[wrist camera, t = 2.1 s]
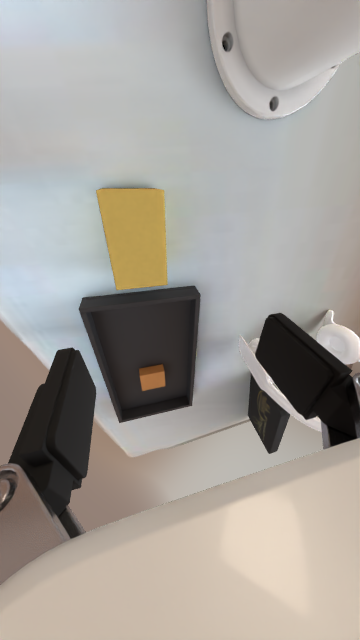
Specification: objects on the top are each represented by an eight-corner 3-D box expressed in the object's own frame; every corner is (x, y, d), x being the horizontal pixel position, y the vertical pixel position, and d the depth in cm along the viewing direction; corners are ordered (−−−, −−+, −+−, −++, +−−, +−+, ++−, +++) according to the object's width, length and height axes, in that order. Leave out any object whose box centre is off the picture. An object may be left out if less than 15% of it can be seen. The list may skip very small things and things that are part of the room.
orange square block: (138, 368, 32) (139, 376, 30) (162, 363, 33) (164, 371, 31) (141, 383, 34) (142, 391, 33) (163, 378, 35) (165, 386, 34)
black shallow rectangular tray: (82, 297, 23) (78, 309, 21) (194, 285, 26) (200, 294, 24) (119, 410, 38) (119, 423, 36) (188, 394, 41) (192, 405, 39)
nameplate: (254, 413, 54) (276, 452, 47) (247, 415, 54) (269, 455, 46) (259, 367, 42) (291, 410, 34) (251, 370, 41) (281, 414, 34)
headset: (230, 355, 37) (298, 462, 23) (236, 325, 32) (324, 435, 18) (317, 336, 40) (422, 419, 26) (333, 308, 36) (467, 388, 22)
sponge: (101, 188, 18) (95, 190, 14) (155, 188, 19) (164, 190, 15) (117, 271, 22) (116, 290, 19) (159, 267, 23) (167, 285, 20)
